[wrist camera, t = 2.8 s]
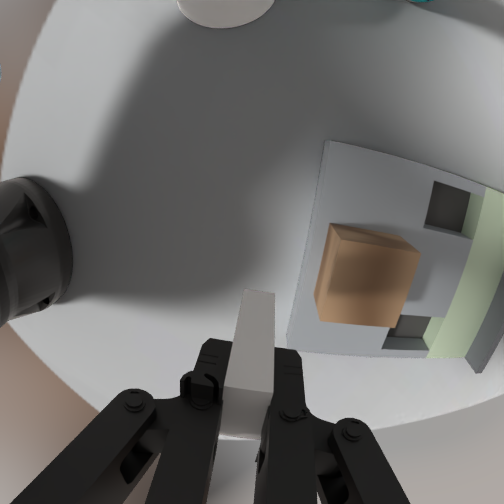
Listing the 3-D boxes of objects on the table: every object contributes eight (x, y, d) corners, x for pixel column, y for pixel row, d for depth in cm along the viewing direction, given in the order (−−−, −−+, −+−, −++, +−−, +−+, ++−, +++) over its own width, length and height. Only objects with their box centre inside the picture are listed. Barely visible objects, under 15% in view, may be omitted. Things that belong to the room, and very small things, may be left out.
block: (313, 294, 24) (319, 321, 20) (329, 222, 22) (341, 239, 18) (379, 302, 24) (394, 327, 20) (399, 235, 22) (421, 253, 18)
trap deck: (286, 334, 28) (288, 372, 23) (324, 140, 22) (339, 139, 17) (461, 345, 28) (481, 373, 23) (513, 199, 22) (546, 212, 17)
